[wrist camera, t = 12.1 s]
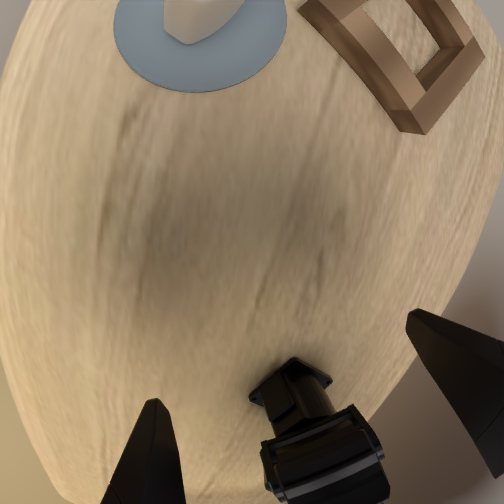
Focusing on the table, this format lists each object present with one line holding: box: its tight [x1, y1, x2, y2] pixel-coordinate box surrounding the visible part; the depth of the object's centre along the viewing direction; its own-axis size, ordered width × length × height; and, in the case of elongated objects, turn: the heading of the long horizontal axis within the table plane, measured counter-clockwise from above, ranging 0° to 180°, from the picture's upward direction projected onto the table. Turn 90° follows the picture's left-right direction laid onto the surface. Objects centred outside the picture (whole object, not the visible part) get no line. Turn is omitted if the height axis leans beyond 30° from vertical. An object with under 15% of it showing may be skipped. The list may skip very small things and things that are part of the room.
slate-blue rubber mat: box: [114, 0, 287, 92], centre depth 14 cm, size 11×11×1 cm
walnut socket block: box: [297, 0, 485, 135], centre depth 16 cm, size 12×12×3 cm
